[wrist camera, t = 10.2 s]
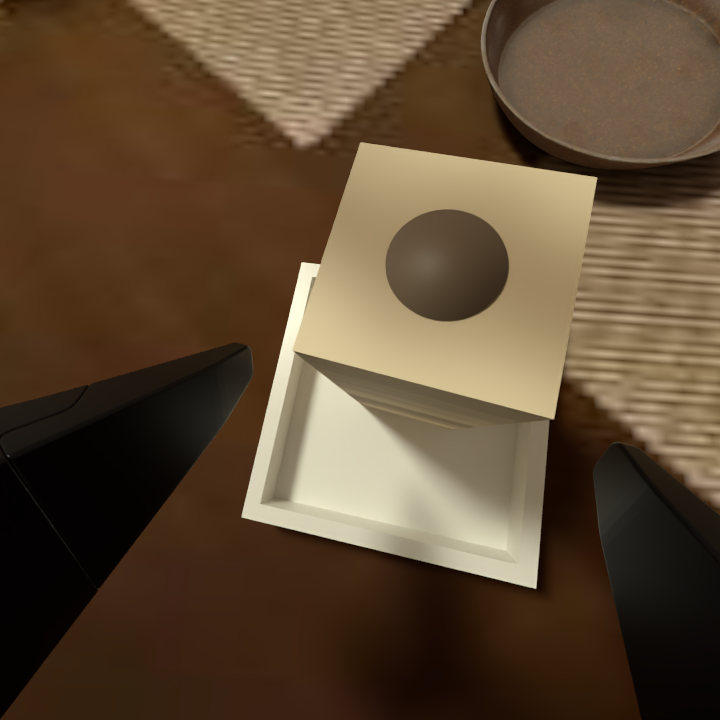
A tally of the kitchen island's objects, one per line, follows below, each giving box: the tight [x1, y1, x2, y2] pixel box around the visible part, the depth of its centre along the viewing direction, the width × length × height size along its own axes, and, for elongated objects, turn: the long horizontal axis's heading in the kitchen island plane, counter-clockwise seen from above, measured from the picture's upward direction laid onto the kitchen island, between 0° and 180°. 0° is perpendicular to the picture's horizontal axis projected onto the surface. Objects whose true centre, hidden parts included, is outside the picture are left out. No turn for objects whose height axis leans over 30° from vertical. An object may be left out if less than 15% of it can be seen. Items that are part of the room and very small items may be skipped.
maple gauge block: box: [292, 143, 597, 430], centre depth 13 cm, size 5×5×13 cm
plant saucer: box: [481, 0, 720, 170], centre depth 22 cm, size 18×18×3 cm
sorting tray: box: [242, 262, 549, 589], centre depth 19 cm, size 14×14×2 cm
